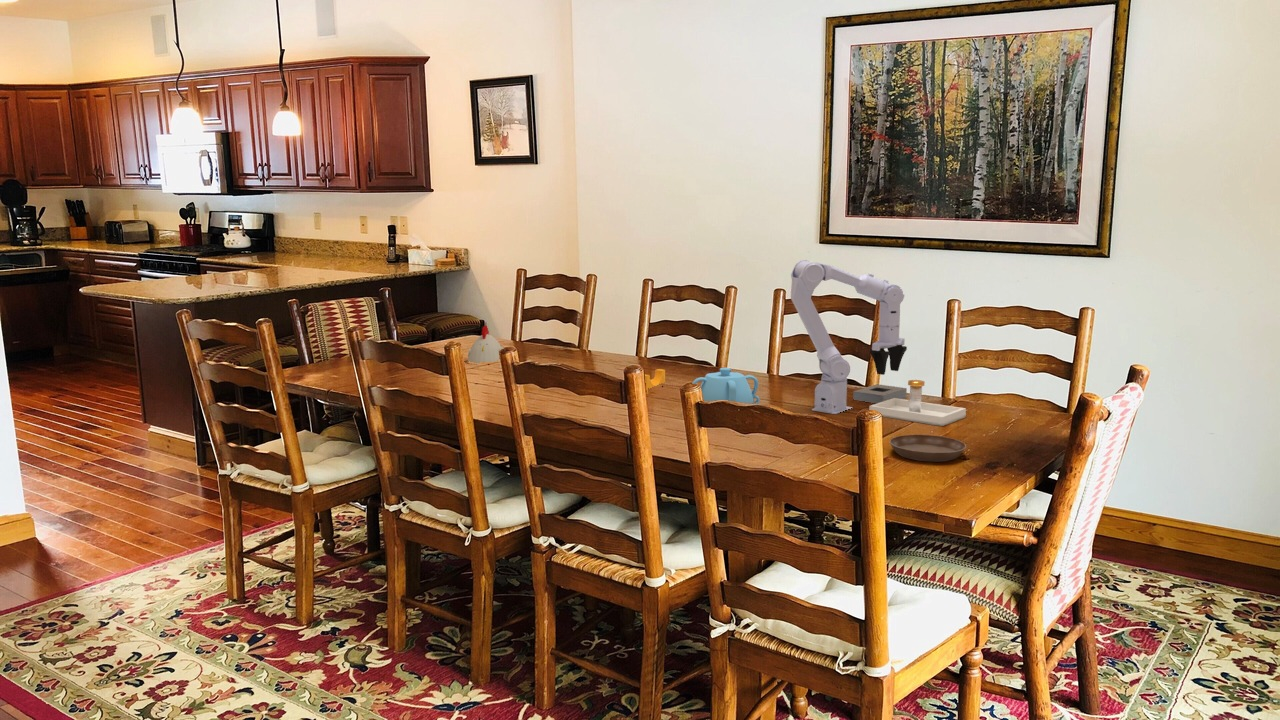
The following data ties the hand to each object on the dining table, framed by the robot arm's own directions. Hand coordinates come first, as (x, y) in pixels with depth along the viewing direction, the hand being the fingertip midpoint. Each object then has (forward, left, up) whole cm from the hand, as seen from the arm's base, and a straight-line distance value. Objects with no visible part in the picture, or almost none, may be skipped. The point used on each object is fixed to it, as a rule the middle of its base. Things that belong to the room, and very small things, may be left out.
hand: (887, 372), depth 288 cm
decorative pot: (-37, +30, -11) cm, 49 cm away
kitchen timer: (-29, +148, -11) cm, 151 cm away
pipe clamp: (-26, +69, -11) cm, 75 cm away
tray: (-4, -12, -10) cm, 16 cm away
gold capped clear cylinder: (-4, -11, -10) cm, 15 cm away
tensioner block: (+9, +7, -10) cm, 15 cm away
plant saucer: (-39, -33, -11) cm, 53 cm away
